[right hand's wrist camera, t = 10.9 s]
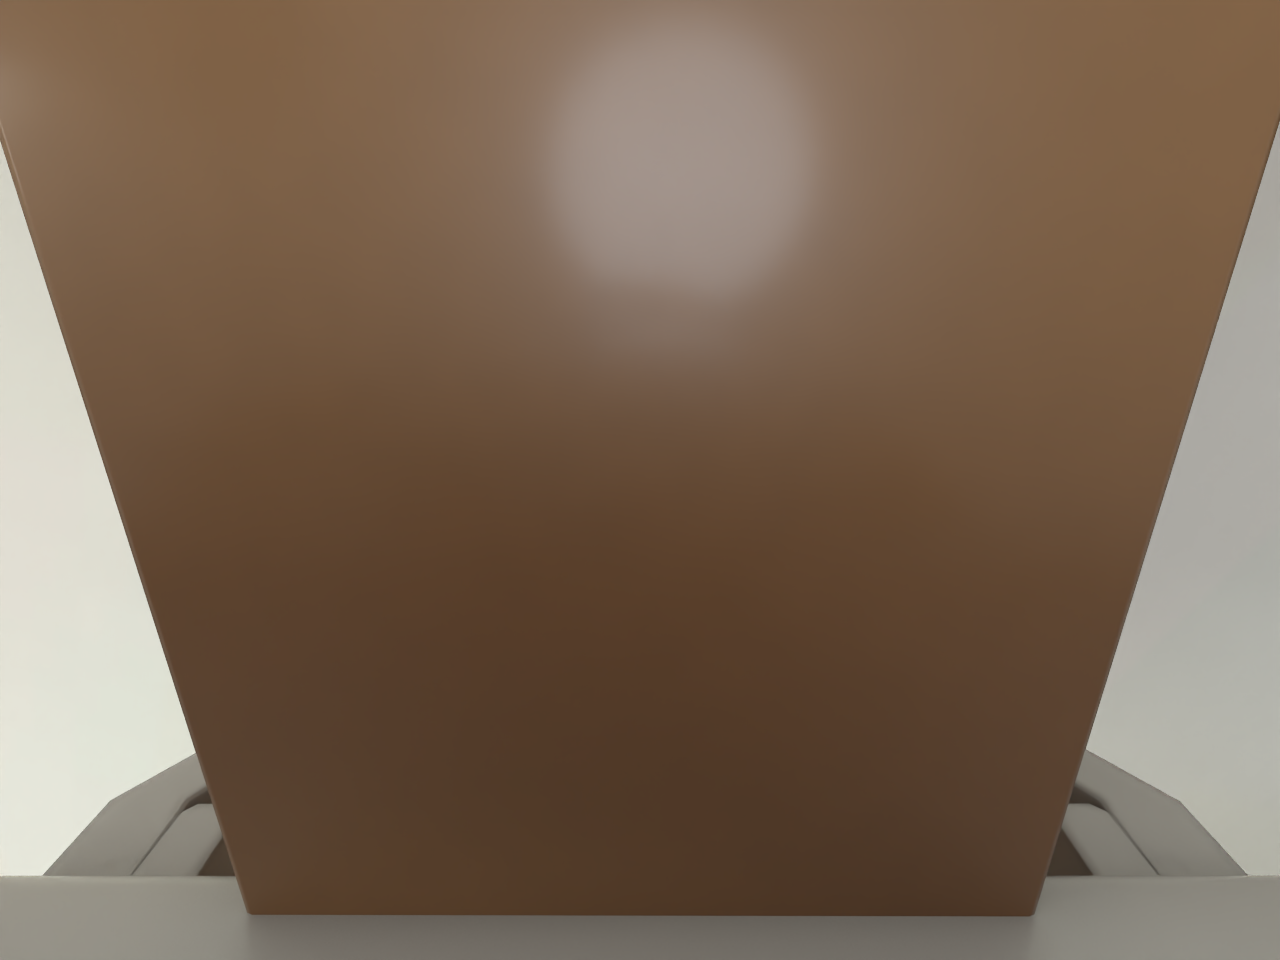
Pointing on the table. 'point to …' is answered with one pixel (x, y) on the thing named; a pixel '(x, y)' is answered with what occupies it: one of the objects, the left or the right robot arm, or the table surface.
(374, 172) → the box
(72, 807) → the table surface
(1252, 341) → the table surface
